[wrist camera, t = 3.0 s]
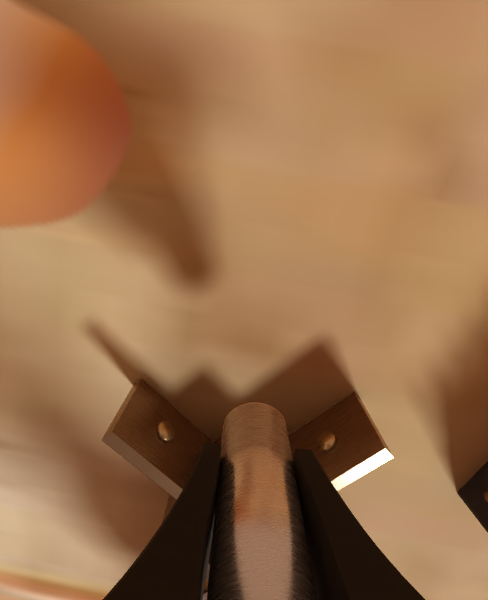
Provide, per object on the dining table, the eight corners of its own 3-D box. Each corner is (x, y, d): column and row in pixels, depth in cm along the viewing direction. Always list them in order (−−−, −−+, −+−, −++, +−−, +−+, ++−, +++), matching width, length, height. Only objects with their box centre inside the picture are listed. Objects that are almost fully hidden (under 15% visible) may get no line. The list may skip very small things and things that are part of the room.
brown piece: (236, 520, 25) (234, 598, 20) (103, 410, 21) (62, 472, 17) (385, 428, 22) (424, 493, 17) (258, 283, 18) (263, 314, 14)
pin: (250, 463, 14) (258, 762, 7) (209, 426, 14) (166, 710, 6) (299, 431, 14) (365, 719, 6) (258, 390, 13) (277, 657, 6)
